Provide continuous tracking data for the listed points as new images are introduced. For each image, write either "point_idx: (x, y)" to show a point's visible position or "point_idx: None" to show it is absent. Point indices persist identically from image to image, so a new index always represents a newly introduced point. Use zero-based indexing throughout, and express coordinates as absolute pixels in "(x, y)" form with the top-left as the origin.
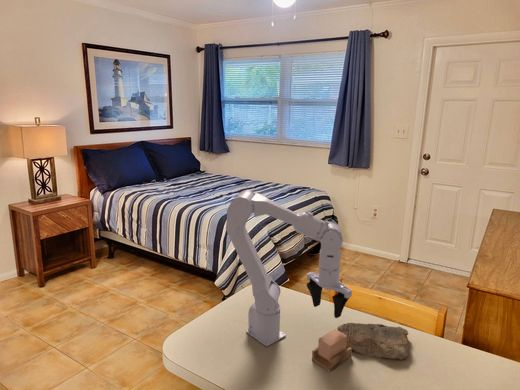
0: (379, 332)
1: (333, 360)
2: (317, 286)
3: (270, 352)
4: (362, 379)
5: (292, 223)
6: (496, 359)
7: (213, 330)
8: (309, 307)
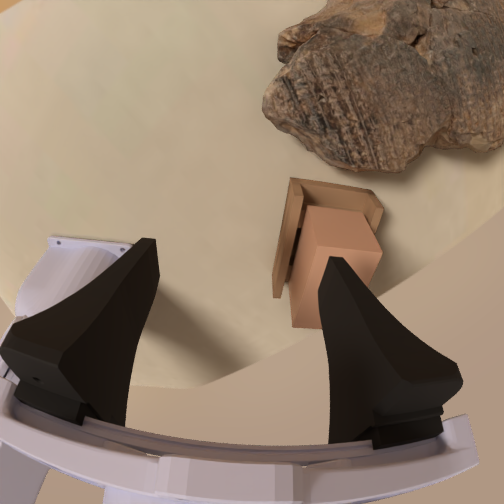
0: (462, 76)
1: None
2: (106, 393)
3: (169, 312)
4: (421, 251)
5: None
6: None
7: None
8: (46, 39)
